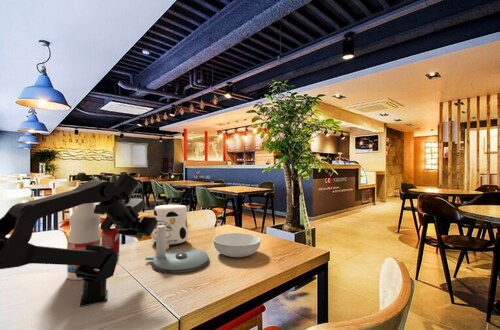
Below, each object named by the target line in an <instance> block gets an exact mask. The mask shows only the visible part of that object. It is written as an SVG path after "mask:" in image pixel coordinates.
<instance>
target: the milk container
mask: <svg viewBox="0 0 500 330" xmlns="http://www.w3.org/2000/svg"><path fill="white" fill-rule="evenodd" d="M187 213H188V207H187V205H182V204H163V205H157V206H155V207H154V211H153V217H155V218H156V219H157V220H158V223H157V225H156V226H155V228H154V230H153V232H152V234H151V241H152V242H153V244H154V245H156V238H157V226H161V225H165V226H166V242H169V247H170V246H171V247H173V246H178V245H182V244H184V243H185V242H187V240H188V238H189V228H188V223H187V221H188V214H187Z"/></svg>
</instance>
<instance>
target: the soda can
mask: <svg viewBox="0 0 500 330" xmlns="http://www.w3.org/2000/svg"><path fill="white" fill-rule="evenodd" d="M115 226H116V225H112V226H111V227H110V229H111V231H110V232H104V231H103V230H101V244H100V246H106V247H112V248H113V250H114V251H116V252H117V255H119V254H120V247H121V246H120V243H121V242H120V237H121V234H118V231H119V230H117V229H116V228H115Z"/></svg>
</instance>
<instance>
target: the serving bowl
mask: <svg viewBox="0 0 500 330" xmlns="http://www.w3.org/2000/svg"><path fill="white" fill-rule="evenodd" d="M212 240H213V245H214V248H215V250H216V252H218V253H219V254H221V255H224V256H226V257H231V258H242V257H243V258H244V257H248V256H251V255H253V254H255V253H256V252H257V251H258V250H259V248H260V246H261V238H260V237H259V236H258V235H254V234H250V233H241V232H232V233H231V232H230V233H229V232H228V233H227V232H226V233H222V234H218V235H216V236H214V237H213V239H212Z"/></svg>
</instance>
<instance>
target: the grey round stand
mask: <svg viewBox="0 0 500 330" xmlns="http://www.w3.org/2000/svg"><path fill="white" fill-rule="evenodd" d="M155 248H156V249H155V252H156V253H155V255H147V256H145V261H153V264H154V266H156V267H158V268H161V269H165V270H185V269H191V268H195V267H198V266H201V265H203V264H204V263H206V262H207V260H208V257H209V254H208V253H207V252H206V251H203V250H201V249H196V248H175V249H170V250H169V251H166V226H165V225H161V226H157V238H156V244H155ZM178 253H186V254H187V257H185V258H176V257H175V255H176V254H178Z"/></svg>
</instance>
